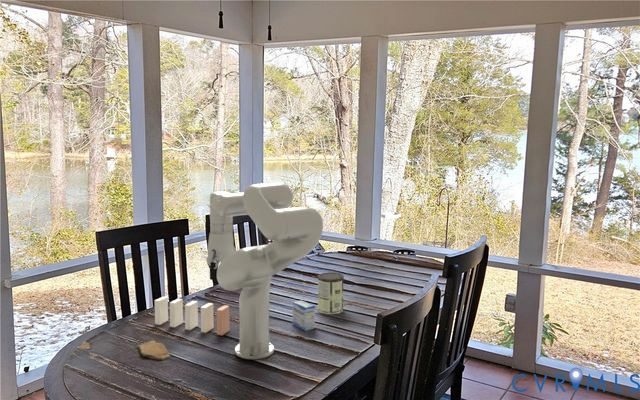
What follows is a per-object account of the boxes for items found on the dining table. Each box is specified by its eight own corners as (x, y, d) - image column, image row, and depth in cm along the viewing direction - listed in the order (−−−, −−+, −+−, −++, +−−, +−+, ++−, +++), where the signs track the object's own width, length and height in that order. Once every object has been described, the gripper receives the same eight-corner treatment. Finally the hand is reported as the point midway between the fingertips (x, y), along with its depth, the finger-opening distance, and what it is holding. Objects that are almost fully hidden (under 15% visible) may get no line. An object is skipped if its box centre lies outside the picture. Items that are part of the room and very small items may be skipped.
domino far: (168, 320, 191) (167, 297, 190) (159, 325, 186) (159, 301, 185) (163, 319, 192) (163, 296, 191) (155, 324, 187) (154, 300, 186)
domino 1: (183, 322, 189) (182, 299, 188) (174, 327, 184) (174, 303, 183) (178, 322, 189) (177, 298, 188) (170, 326, 185) (169, 302, 184)
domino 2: (198, 325, 187) (197, 301, 185) (190, 330, 182) (189, 305, 181) (193, 324, 187) (193, 300, 186) (185, 329, 183) (184, 304, 181)
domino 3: (213, 327, 184) (213, 303, 183) (205, 332, 180) (205, 308, 179) (208, 326, 185) (208, 302, 184) (201, 331, 180) (200, 307, 179)
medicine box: (292, 324, 188) (292, 302, 187) (301, 322, 191) (301, 299, 190) (305, 331, 182) (305, 307, 181) (315, 328, 185) (315, 305, 184)
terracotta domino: (229, 330, 182) (229, 305, 181) (222, 335, 177) (221, 310, 176) (224, 329, 183) (224, 305, 182) (217, 334, 178) (216, 309, 177)
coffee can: (325, 304, 211) (325, 270, 210) (347, 308, 206) (348, 274, 204) (312, 311, 203) (312, 276, 201) (335, 316, 197) (335, 280, 196)
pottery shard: (178, 359, 162) (152, 342, 172) (178, 352, 162) (152, 335, 171) (154, 368, 156) (129, 350, 165) (154, 360, 155) (129, 343, 165)
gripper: (225, 222, 185) (225, 269, 187) (197, 231, 169) (198, 281, 171) (243, 224, 182) (243, 271, 184) (217, 233, 166) (217, 284, 168)
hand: (222, 276), depth 178 cm, fingers open, 9 cm apart
